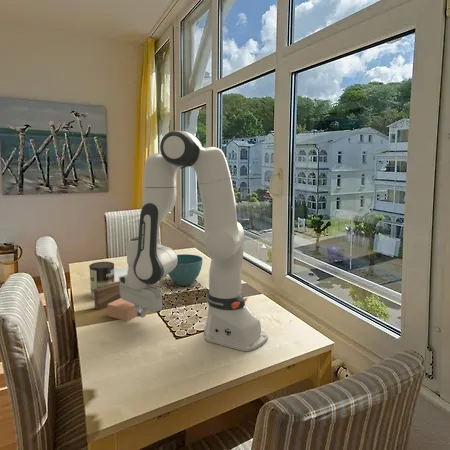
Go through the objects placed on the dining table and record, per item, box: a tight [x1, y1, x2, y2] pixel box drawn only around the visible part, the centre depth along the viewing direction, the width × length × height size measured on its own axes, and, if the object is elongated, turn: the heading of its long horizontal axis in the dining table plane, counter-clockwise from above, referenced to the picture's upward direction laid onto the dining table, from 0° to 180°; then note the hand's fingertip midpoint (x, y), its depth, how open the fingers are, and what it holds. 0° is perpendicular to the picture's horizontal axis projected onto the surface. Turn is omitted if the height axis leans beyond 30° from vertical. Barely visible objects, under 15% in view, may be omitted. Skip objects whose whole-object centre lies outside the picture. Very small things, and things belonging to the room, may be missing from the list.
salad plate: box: [114, 267, 128, 283], centre depth 179 cm, size 21×21×3 cm
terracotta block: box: [106, 298, 142, 322], centre depth 138 cm, size 10×8×5 cm
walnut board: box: [94, 282, 121, 311], centre depth 150 cm, size 3×20×8 cm, turn 142°
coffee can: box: [88, 261, 115, 299], centre depth 157 cm, size 10×10×14 cm
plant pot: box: [167, 253, 204, 287], centre depth 175 cm, size 18×18×12 cm
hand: (141, 316), depth 132 cm, fingers closed
